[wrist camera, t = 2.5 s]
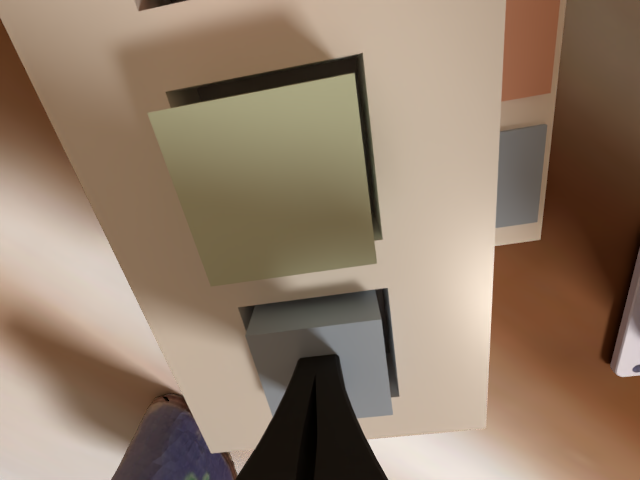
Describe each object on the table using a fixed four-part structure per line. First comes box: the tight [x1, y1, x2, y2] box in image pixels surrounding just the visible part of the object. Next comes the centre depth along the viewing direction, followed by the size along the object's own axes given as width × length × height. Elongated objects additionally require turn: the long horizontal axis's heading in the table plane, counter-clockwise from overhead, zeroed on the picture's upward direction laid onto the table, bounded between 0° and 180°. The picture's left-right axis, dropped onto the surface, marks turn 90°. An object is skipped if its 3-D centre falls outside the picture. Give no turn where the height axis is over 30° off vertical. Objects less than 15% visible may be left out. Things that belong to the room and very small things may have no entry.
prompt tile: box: [495, 0, 567, 246], centre depth 12 cm, size 3×10×1 cm, turn 10°
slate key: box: [245, 290, 393, 418], centre depth 13 cm, size 4×4×3 cm
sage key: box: [147, 73, 377, 287], centre depth 9 cm, size 4×4×3 cm
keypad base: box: [0, 0, 506, 453], centre depth 11 cm, size 12×24×3 cm, turn 10°
